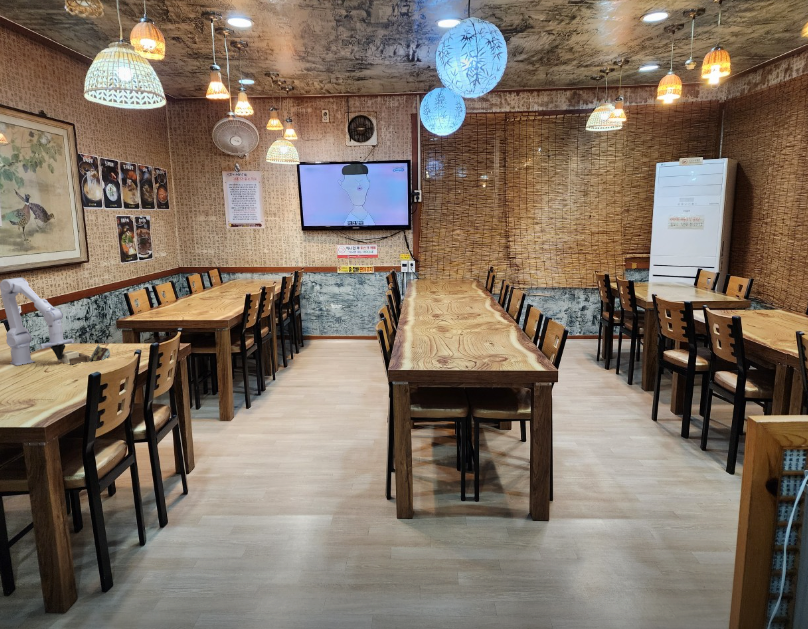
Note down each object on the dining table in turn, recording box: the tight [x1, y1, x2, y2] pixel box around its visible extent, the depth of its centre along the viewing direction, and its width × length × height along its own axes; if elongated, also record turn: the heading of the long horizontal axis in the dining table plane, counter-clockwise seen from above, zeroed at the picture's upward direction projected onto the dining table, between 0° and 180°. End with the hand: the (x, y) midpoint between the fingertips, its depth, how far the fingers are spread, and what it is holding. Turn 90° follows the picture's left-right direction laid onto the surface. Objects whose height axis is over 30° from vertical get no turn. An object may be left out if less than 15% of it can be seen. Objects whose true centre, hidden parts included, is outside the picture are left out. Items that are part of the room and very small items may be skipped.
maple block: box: [57, 350, 80, 364], centre depth 269 cm, size 8×6×5 cm
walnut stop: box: [69, 352, 91, 366], centre depth 270 cm, size 18×8×3 cm, turn 54°
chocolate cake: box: [90, 343, 111, 362], centre depth 275 cm, size 10×7×12 cm
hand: (59, 359), depth 264 cm, fingers closed
